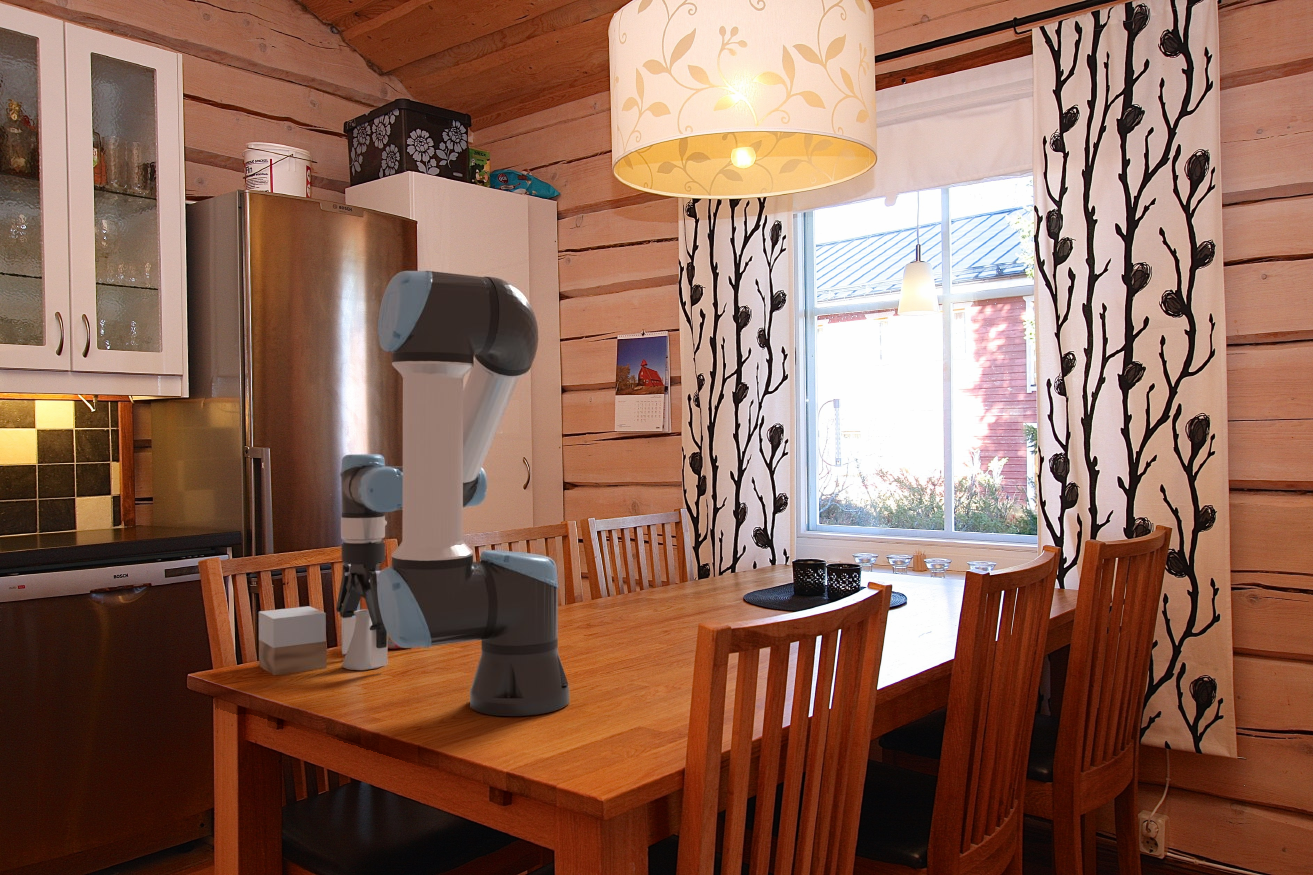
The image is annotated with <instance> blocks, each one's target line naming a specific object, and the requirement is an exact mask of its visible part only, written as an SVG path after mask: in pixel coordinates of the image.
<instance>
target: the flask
mask: <svg viewBox="0 0 1313 875" xmlns="http://www.w3.org/2000/svg"><path fill="white" fill-rule="evenodd" d="M354 614H355V616H356V624H355V629H354V634H353V637H352V639H351V642H350V645H349V648H348V651H347V653H346V654H345V656H344V659H343V661H342V664H341V667H342V668H344V669H347V670H352V671H353V670H354V671H355V670H356V671H366V670H372V669H378V668H381V667H382V666H380V667H373V668H372V667H371V630H370V629H369V628H370V627H371V625H372V621H371V618H370V615H369V611H368V608H367V609H364V608H363V609H357V611H354Z"/></svg>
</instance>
